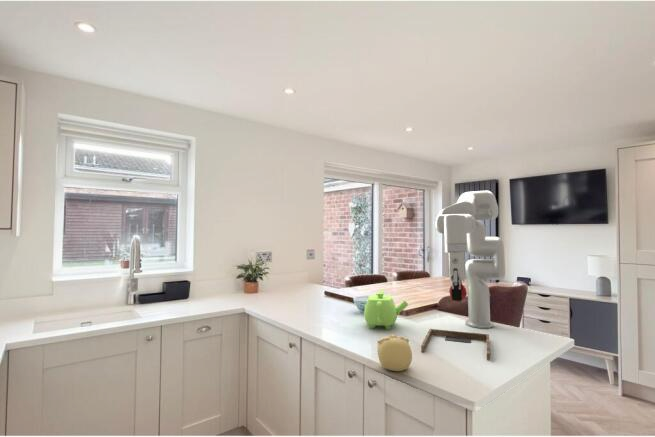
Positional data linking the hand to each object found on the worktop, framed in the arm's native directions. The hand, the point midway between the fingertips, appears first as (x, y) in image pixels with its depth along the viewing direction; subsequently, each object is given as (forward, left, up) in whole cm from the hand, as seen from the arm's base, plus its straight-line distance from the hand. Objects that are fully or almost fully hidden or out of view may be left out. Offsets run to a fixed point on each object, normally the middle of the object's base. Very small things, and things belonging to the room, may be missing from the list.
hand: (457, 298), depth 125 cm
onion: (0, 0, -2) cm, 2 cm away
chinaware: (-57, -53, -23) cm, 81 cm away
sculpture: (+14, -20, -23) cm, 33 cm away
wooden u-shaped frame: (-15, -2, -22) cm, 27 cm away
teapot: (-36, -36, -23) cm, 56 cm away
